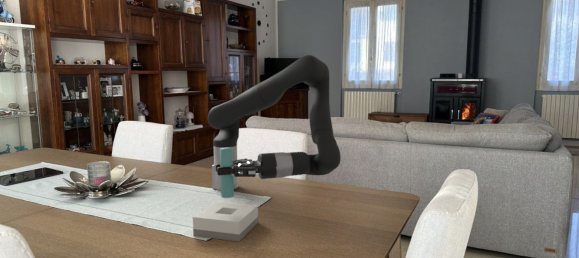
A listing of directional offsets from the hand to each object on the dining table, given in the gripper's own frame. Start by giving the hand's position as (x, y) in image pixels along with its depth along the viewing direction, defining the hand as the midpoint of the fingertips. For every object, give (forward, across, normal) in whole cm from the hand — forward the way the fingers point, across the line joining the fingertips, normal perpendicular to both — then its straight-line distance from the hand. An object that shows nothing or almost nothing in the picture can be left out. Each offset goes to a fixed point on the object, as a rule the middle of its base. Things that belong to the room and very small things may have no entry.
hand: (216, 169), depth 110 cm
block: (-2, 0, +18) cm, 18 cm away
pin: (-3, 0, +8) cm, 8 cm away
